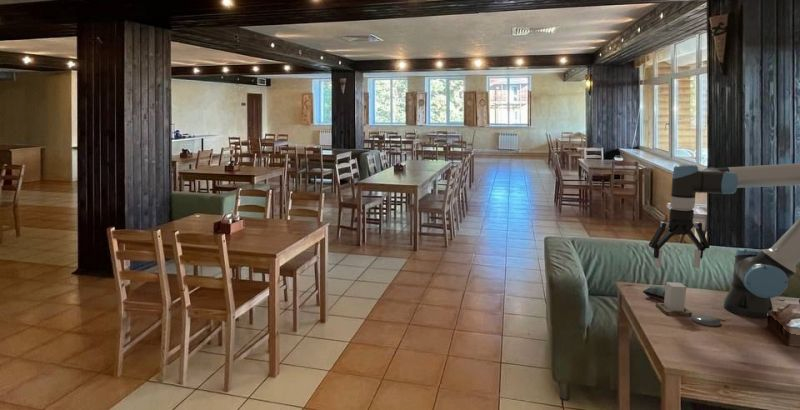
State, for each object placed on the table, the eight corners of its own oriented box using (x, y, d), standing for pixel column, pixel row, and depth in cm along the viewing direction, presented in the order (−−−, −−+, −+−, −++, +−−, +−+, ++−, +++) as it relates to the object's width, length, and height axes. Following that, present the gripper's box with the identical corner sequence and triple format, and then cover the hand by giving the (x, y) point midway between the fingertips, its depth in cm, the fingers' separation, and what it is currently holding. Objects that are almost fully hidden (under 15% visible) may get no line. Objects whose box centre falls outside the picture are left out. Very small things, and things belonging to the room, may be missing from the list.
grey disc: (712, 316, 189) (712, 314, 189) (725, 326, 180) (725, 324, 180) (685, 315, 190) (686, 313, 190) (697, 325, 181) (698, 323, 181)
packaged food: (653, 292, 215) (654, 281, 214) (682, 301, 205) (684, 289, 204) (641, 297, 210) (642, 285, 209) (670, 306, 200) (672, 293, 199)
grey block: (677, 308, 197) (680, 282, 195) (683, 313, 192) (686, 287, 190) (663, 308, 197) (666, 282, 195) (669, 313, 192) (671, 286, 190)
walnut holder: (680, 307, 198) (681, 303, 198) (691, 315, 190) (692, 312, 189) (655, 305, 199) (656, 302, 199) (665, 314, 190) (665, 311, 190)
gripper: (712, 207, 191) (706, 264, 194) (641, 206, 191) (637, 263, 195) (724, 210, 183) (718, 270, 187) (650, 210, 184) (646, 269, 187)
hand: (676, 267), depth 191 cm, fingers open, 13 cm apart
